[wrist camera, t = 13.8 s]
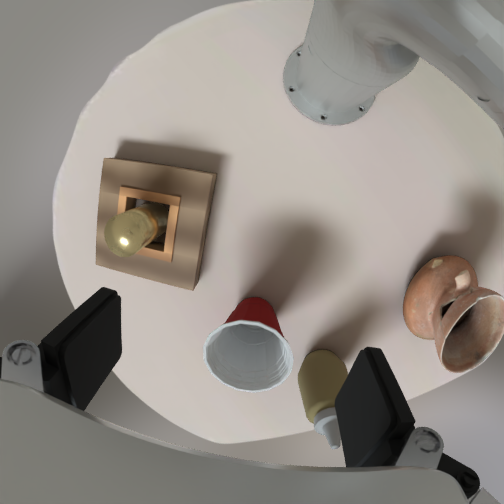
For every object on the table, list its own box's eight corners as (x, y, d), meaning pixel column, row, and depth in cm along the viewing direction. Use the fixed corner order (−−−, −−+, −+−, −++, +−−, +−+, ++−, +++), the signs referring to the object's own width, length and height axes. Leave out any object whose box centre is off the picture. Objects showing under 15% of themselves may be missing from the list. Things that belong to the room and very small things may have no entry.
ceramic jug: (386, 264, 40) (429, 311, 27) (460, 229, 37) (516, 259, 24) (405, 349, 45) (435, 403, 31) (468, 315, 42) (508, 358, 29)
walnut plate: (114, 157, 38) (102, 158, 35) (217, 173, 38) (212, 174, 35) (105, 258, 43) (94, 265, 39) (198, 282, 43) (192, 291, 39)
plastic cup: (225, 272, 42) (209, 312, 30) (298, 290, 42) (306, 335, 31) (212, 332, 45) (195, 382, 34) (277, 348, 45) (278, 400, 34)
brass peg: (140, 199, 39) (105, 211, 30) (172, 205, 39) (143, 219, 30) (137, 232, 41) (103, 252, 31) (167, 238, 41) (139, 261, 31)
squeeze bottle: (291, 377, 47) (296, 461, 30) (302, 340, 45) (313, 427, 27) (335, 380, 47) (353, 461, 30) (349, 345, 44) (377, 427, 27)
